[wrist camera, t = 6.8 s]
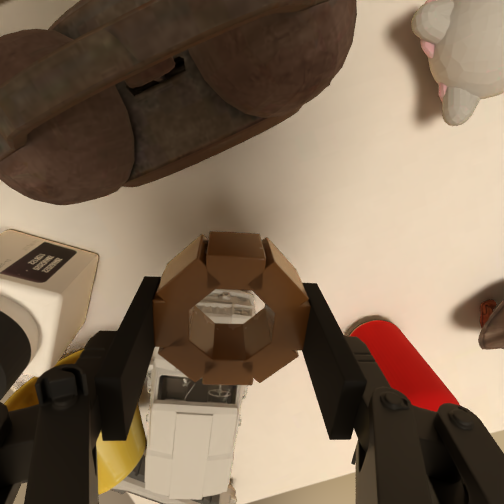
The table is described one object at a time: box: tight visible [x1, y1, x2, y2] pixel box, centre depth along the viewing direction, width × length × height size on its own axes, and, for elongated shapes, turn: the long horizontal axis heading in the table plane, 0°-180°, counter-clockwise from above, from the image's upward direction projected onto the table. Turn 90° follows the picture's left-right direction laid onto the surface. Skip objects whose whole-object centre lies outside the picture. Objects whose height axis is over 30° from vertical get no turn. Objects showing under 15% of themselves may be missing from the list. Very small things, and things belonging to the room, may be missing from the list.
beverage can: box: [349, 320, 459, 412], centre depth 30 cm, size 6×6×12 cm
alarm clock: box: [0, 0, 357, 205], centre depth 16 cm, size 15×7×20 cm, turn 113°
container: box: [0, 230, 98, 400], centre depth 24 cm, size 8×8×13 cm
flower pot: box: [4, 349, 146, 495], centre depth 29 cm, size 10×10×10 cm
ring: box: [152, 231, 311, 385], centre depth 16 cm, size 7×7×3 cm
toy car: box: [145, 289, 256, 500], centre depth 30 cm, size 10×20×10 cm, turn 172°
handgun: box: [22, 450, 237, 504], centre depth 38 cm, size 5×29×15 cm
